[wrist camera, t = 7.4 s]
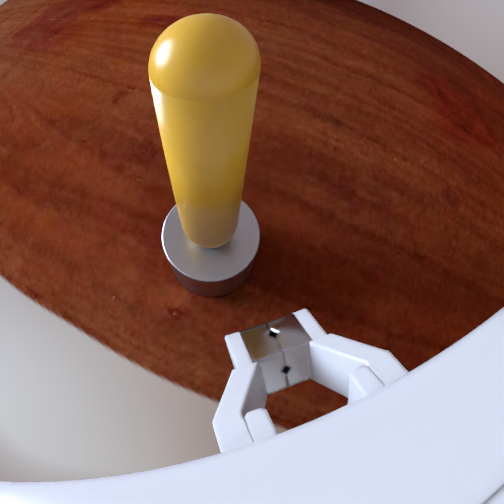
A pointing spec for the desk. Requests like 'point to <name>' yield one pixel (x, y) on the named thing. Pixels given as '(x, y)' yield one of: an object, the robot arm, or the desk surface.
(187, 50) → the yellow lever knob
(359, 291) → the desk surface
